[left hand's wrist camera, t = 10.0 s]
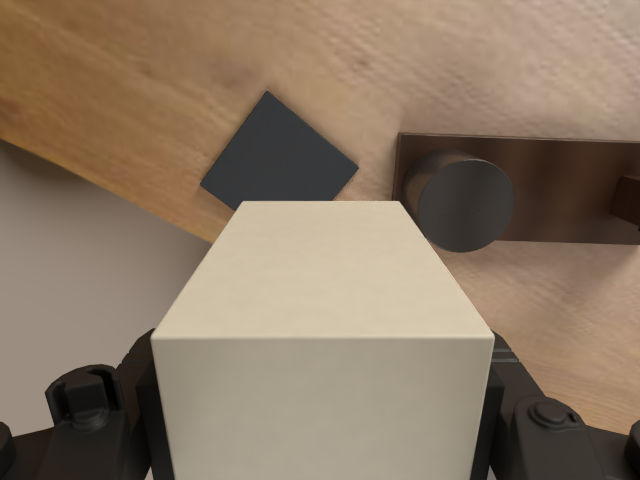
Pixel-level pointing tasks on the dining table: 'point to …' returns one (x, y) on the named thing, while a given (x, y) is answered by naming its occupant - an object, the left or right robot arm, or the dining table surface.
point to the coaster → (277, 160)
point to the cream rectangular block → (322, 351)
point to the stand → (518, 189)
